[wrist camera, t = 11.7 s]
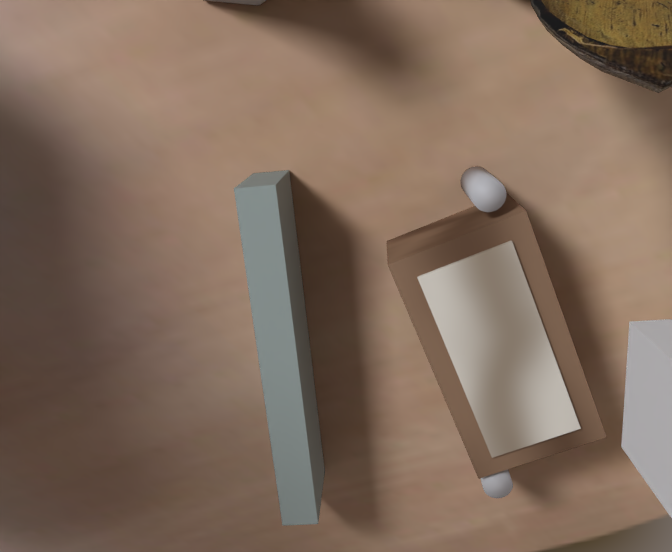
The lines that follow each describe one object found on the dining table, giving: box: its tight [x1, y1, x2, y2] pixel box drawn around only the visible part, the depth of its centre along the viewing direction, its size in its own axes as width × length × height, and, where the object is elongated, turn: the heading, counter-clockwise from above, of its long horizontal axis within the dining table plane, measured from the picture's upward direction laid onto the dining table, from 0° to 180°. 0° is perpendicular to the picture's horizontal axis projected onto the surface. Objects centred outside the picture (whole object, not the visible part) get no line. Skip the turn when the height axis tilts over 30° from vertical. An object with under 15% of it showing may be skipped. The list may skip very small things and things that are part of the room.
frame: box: [387, 193, 607, 479], centre depth 35 cm, size 7×13×5 cm, turn 23°
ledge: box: [234, 166, 513, 525], centre depth 35 cm, size 13×19×5 cm
